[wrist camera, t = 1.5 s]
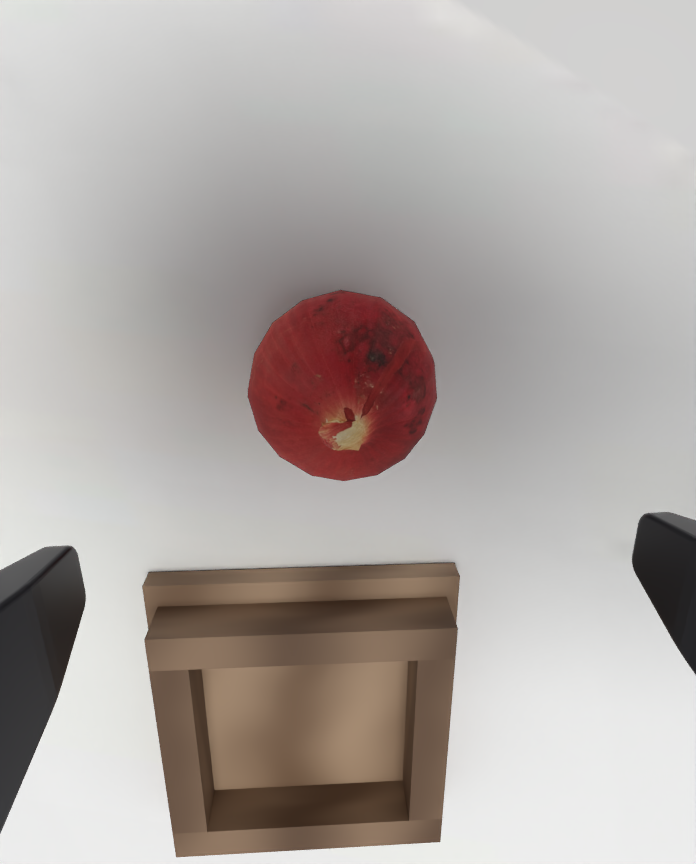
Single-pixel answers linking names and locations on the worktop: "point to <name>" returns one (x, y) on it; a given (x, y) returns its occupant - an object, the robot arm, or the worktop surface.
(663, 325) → the worktop surface
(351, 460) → the onion
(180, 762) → the walnut holder
